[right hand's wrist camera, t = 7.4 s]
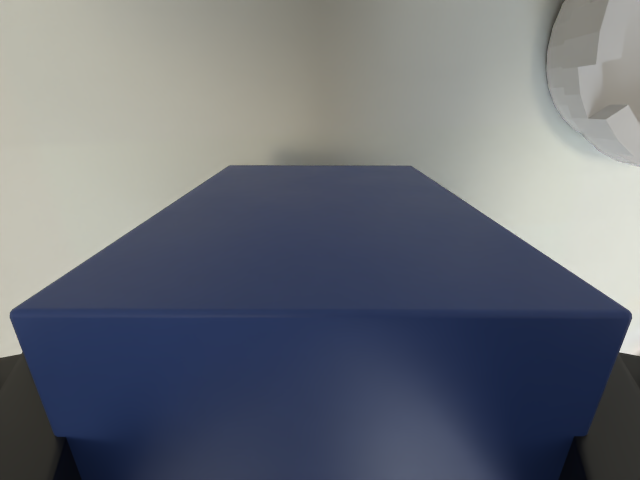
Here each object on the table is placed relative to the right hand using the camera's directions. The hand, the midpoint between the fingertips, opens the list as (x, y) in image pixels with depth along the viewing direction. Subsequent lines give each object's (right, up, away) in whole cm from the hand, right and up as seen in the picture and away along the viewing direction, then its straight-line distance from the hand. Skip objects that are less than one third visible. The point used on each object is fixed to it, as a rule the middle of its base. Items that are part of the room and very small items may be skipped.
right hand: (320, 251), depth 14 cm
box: (0, -8, +5) cm, 10 cm away
